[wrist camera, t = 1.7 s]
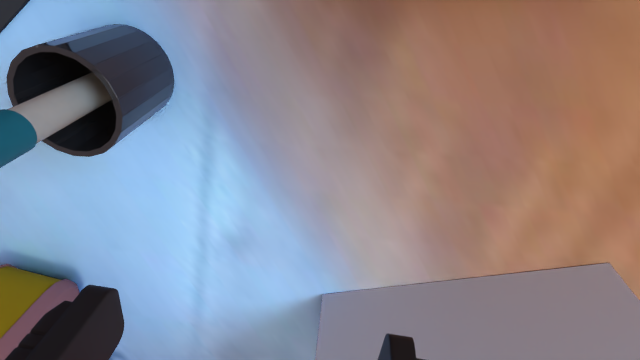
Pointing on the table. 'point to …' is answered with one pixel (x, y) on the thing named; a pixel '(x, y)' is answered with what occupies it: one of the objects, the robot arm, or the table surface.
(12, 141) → the marker
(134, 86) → the pen holder
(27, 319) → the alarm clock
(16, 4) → the desk mat
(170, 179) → the table surface
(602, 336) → the red-lidded white box
